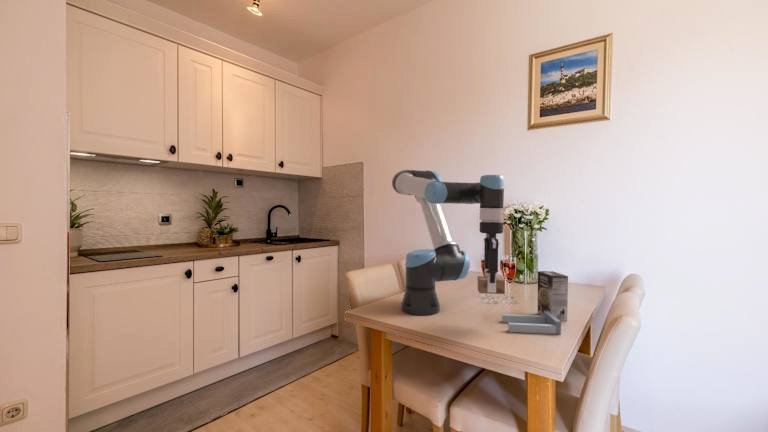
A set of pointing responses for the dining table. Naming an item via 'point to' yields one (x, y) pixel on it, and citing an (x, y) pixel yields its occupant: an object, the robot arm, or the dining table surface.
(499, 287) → the brown block
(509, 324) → the guide
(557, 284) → the coffee box
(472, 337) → the dining table surface
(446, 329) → the dining table surface
